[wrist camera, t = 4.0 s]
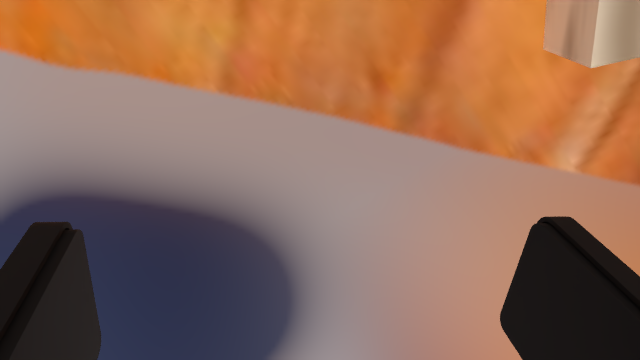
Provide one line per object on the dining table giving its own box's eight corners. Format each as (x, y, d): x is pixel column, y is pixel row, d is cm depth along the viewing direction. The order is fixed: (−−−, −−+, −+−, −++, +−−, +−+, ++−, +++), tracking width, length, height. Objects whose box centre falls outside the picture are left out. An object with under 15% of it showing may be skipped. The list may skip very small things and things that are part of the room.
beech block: (621, -45, 30) (687, -40, 26) (610, 34, 32) (668, 50, 28) (548, -30, 30) (601, -22, 25) (542, 49, 32) (590, 68, 28)
